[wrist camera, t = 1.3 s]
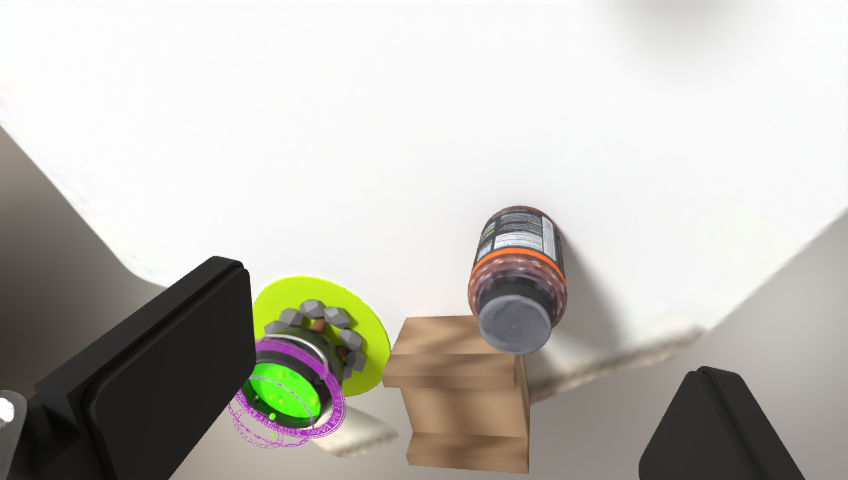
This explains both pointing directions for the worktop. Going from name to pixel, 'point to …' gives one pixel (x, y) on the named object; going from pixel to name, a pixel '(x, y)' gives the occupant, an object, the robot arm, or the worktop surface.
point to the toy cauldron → (311, 354)
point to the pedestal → (460, 396)
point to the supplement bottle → (518, 280)
